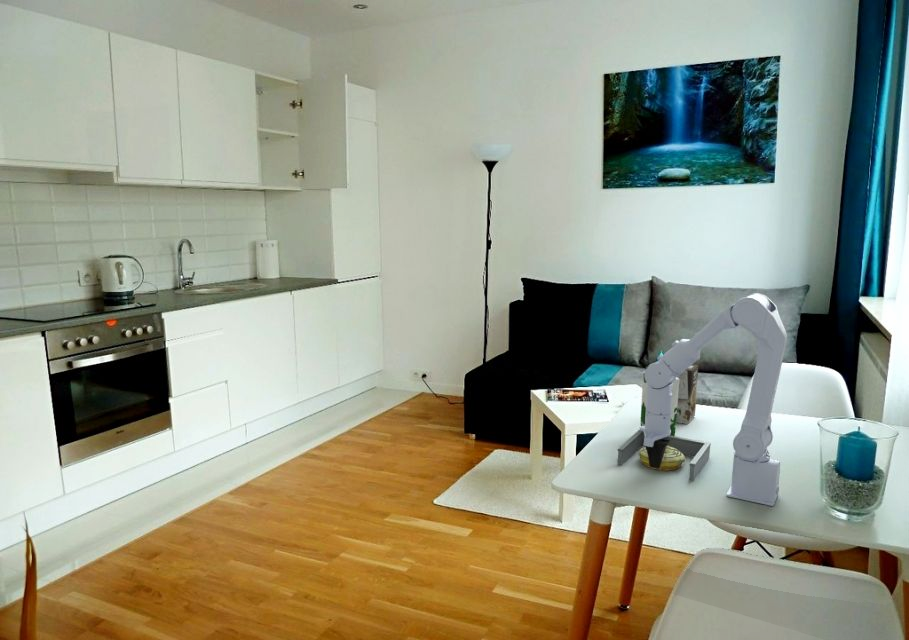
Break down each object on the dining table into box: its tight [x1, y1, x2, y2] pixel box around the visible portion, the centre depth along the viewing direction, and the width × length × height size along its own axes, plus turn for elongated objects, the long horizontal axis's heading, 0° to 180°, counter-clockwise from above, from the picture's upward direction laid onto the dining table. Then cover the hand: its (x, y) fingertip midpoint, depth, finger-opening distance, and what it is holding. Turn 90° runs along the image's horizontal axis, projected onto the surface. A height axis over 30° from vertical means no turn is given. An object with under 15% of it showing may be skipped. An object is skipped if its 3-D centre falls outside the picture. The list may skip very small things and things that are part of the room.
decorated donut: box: [638, 446, 686, 471], centre depth 167 cm, size 10×11×4 cm
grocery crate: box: [617, 429, 712, 482], centre depth 169 cm, size 18×17×4 cm
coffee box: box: [676, 363, 699, 425], centre depth 201 cm, size 9×6×16 cm
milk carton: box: [640, 365, 680, 436], centre depth 183 cm, size 9×9×20 cm
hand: (654, 466), depth 162 cm, fingers closed
